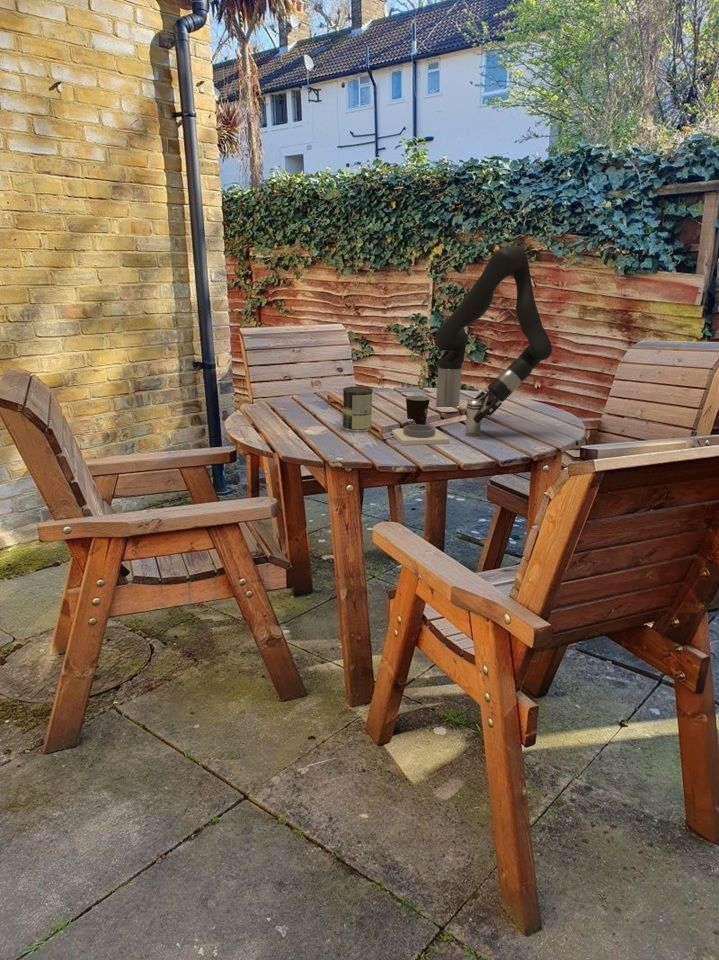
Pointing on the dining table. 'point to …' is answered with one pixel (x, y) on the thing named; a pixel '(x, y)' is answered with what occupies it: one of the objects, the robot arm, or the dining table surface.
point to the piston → (472, 410)
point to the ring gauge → (419, 435)
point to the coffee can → (357, 409)
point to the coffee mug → (417, 408)
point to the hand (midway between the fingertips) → (470, 418)
